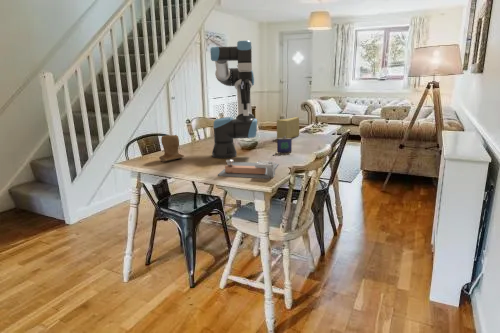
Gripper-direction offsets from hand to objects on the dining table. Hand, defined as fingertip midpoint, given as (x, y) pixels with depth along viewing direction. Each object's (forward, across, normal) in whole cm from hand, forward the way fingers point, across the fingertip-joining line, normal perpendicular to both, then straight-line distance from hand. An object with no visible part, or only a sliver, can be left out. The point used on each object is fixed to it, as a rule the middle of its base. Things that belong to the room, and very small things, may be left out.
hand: (246, 115), depth 190 cm
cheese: (+27, -79, +10) cm, 84 cm away
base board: (+26, +17, +7) cm, 32 cm away
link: (+25, +24, +7) cm, 36 cm away
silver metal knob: (+22, +25, -1) cm, 34 cm away
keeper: (+26, +24, +17) cm, 40 cm away
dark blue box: (+27, -28, +16) cm, 42 cm away
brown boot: (+27, +5, -47) cm, 54 cm away
